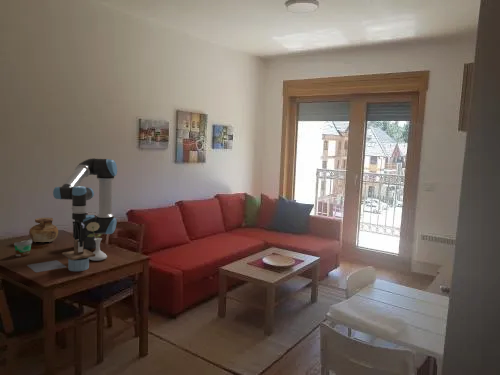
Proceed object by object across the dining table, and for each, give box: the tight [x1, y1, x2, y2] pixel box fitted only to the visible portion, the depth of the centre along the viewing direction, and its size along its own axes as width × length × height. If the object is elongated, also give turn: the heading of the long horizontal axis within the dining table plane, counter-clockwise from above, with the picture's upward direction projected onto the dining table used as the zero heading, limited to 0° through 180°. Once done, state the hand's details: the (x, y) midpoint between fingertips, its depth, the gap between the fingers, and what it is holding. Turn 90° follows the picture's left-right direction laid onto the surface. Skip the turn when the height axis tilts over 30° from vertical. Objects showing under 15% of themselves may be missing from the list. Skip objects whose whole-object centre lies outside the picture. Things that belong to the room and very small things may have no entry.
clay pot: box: [28, 217, 59, 243], centre depth 279 cm, size 19×19×20 cm
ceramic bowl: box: [67, 257, 90, 272], centre depth 225 cm, size 11×11×7 cm
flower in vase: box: [86, 222, 108, 262], centre depth 244 cm, size 13×11×25 cm
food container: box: [13, 237, 33, 258], centre depth 245 cm, size 12×6×10 cm, turn 168°
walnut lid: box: [61, 239, 95, 260], centre depth 224 cm, size 14×14×9 cm
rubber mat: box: [26, 259, 67, 273], centre depth 226 cm, size 17×17×1 cm
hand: (78, 250), depth 224 cm, fingers closed on walnut lid, 4 cm apart
